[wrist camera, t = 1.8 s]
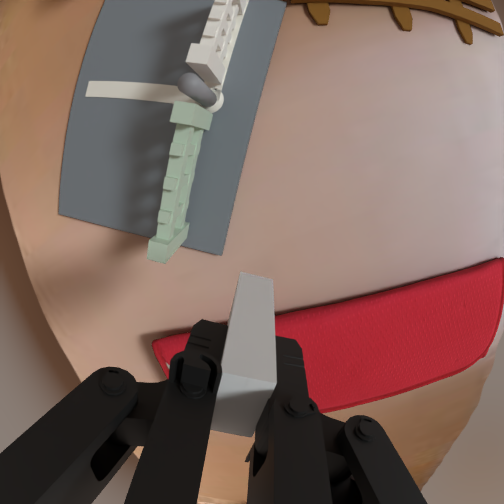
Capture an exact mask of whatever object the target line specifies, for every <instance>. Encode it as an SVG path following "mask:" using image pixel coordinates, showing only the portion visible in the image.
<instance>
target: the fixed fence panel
mask: <svg viewBox="0 0 504 504" xmlns="http://www.w3.org/2000/svg"><path fill="white" fill-rule="evenodd" d="M246 4H247V1H246V0H215V1H214V3H213V6H212V9H211V12H210V14H209V17H208V20H207V23H206V26H205V29H204V32H203V35H202V38H201V41H200V44H197V43H191V46H190V49H189V52H188V55H187V58H186V63H187V64H188V65H189V66H190V67H191V68H192V69H193V70H194V71H195V72H196V73H197V74H198V75H199V76H200V77H201V78H202V79H203V80H204V81H205V82H209V83H215V84H221V85H222V82H223V78H224V75H225V71H226V69H225V67H224V65H223V63H222V62H223V58H224V59H225V58H226V55H227V52H228V50H227V45H228V44H230V42H231V39H232V35H231V32H232V30H234V29H235V26H236V17H237V14H241V15H243V13H244V10H245V7H246Z"/></svg>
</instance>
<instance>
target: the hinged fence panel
mask: <svg viewBox="0 0 504 504" xmlns="http://www.w3.org/2000/svg"><path fill="white" fill-rule="evenodd" d="M177 87H178V89H179V91H181V92H182V93H184V94H185V95H187V96H188V97H190V98H192V99H193V100H195V101H196V102H198V103H200V104H201V105H203V106H204V107H211V106H213V105H214V104H215V103H216V101H217V96H216V94H215V93H214V92H213V91H212V90H211V89H210V88H209V87H208V86H207V85H206V84H205V83H204V82H203V81H202V80H201V79H200V78H199V77H198V76H197V75H196V74H194V73H185V74H183V75H182V76H181V77H180V78H179V80H178V82H177ZM212 117H213V114H212V113H210V112H209V111H207V110H205V109H204V108H202V107H201V106H199V105H197V104H194V103H188V102H181V101H175V102H174V106H173V110H172V114H171V118H170V122H173V123H177V125H176V129H175V133H174V138H173V142H172V143H171V147H170V152H169V154H170V157H169V162H168V167H167V172H166V177H165V178H164V184H163V194H162V200H161V207H160V210H159V214H158V221H157V222H158V227H157V234H156V235H155V236H153V237H152V238H151V239H150V240H149V244H148V253H147V259H149V260H153V261H156V262H160V263H164V264H166V262H167V261H168V260H169V259H170V257H171V256H172V255H173V254H174V253H175V251H176V250H177V249H178V248H179V247H180V245H181V244H182V243H183V242H184V241H185V240H186V238H187V234H188V229H189V223H188V222H185V217H186V212H187V209H188V205H189V196H190V191H191V186H192V182H193V179H194V175H195V172H194V171H195V167H196V162H197V157H198V155H199V152H200V147H201V145H200V144H201V140H202V136H203V131H204V130H209V129H210V125H211V121H212Z"/></svg>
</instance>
